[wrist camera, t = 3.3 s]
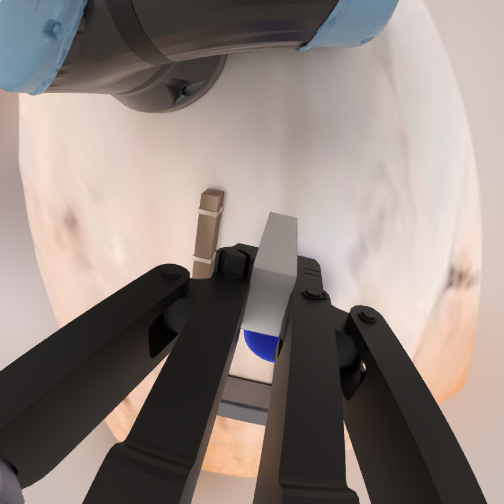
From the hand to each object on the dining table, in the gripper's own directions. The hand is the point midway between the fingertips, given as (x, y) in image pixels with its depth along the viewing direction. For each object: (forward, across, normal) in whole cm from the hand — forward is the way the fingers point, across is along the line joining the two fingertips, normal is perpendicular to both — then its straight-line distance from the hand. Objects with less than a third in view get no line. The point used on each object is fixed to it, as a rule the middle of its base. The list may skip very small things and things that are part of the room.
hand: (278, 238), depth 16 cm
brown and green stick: (+18, -8, -18) cm, 27 cm away
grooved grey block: (+18, +2, -35) cm, 40 cm away
